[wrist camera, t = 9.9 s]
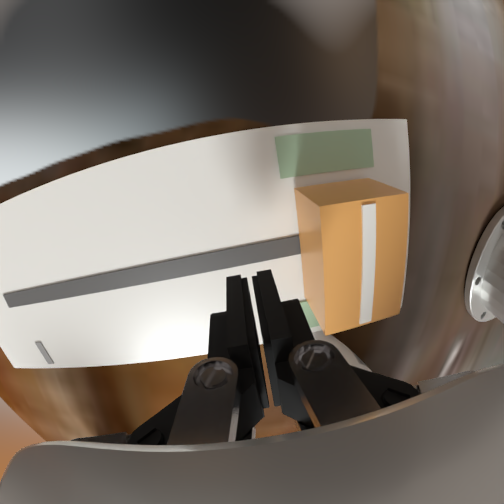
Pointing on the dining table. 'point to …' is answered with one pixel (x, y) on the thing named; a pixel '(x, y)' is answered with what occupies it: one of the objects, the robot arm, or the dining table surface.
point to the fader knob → (352, 251)
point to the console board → (171, 239)
